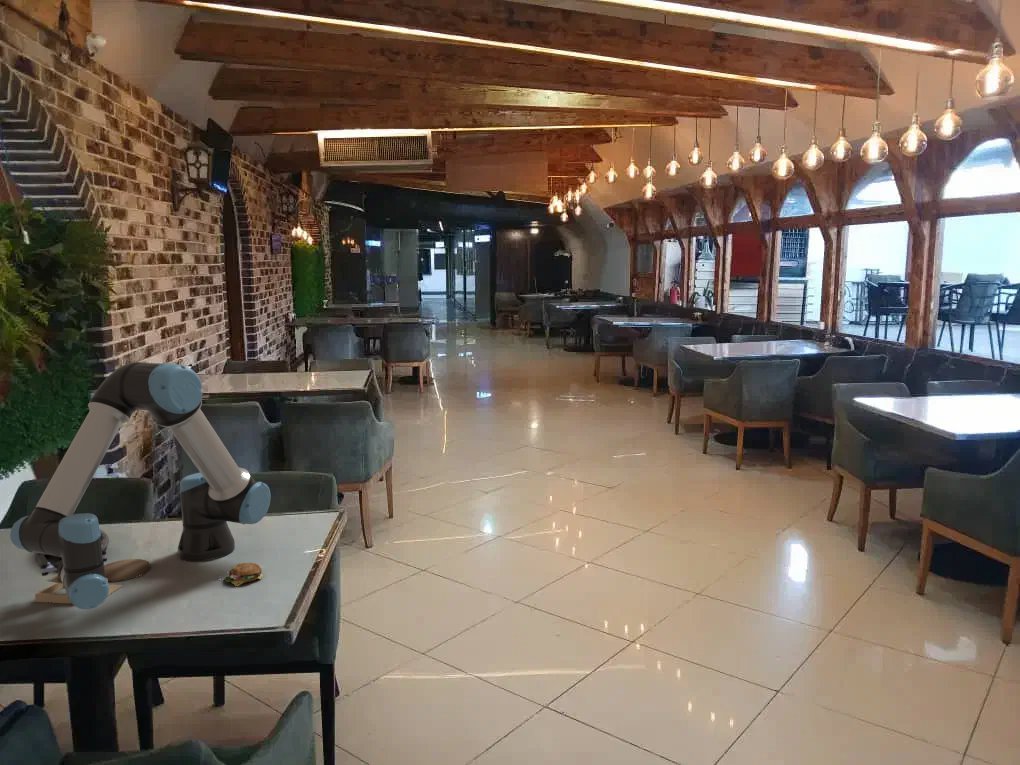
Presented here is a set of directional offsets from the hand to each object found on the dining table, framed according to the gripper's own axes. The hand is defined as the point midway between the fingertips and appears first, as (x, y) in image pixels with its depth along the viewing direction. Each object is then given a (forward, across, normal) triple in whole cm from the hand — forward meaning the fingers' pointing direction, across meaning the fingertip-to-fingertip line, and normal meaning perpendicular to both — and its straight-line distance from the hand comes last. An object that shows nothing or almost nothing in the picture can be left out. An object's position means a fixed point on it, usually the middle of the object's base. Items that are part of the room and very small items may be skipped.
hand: (64, 543), depth 186 cm
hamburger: (-23, +35, -13) cm, 44 cm away
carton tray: (-7, +1, -12) cm, 14 cm away
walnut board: (+2, +13, -12) cm, 18 cm away
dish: (+27, +6, -13) cm, 30 cm away
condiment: (-5, 0, -8) cm, 9 cm away
